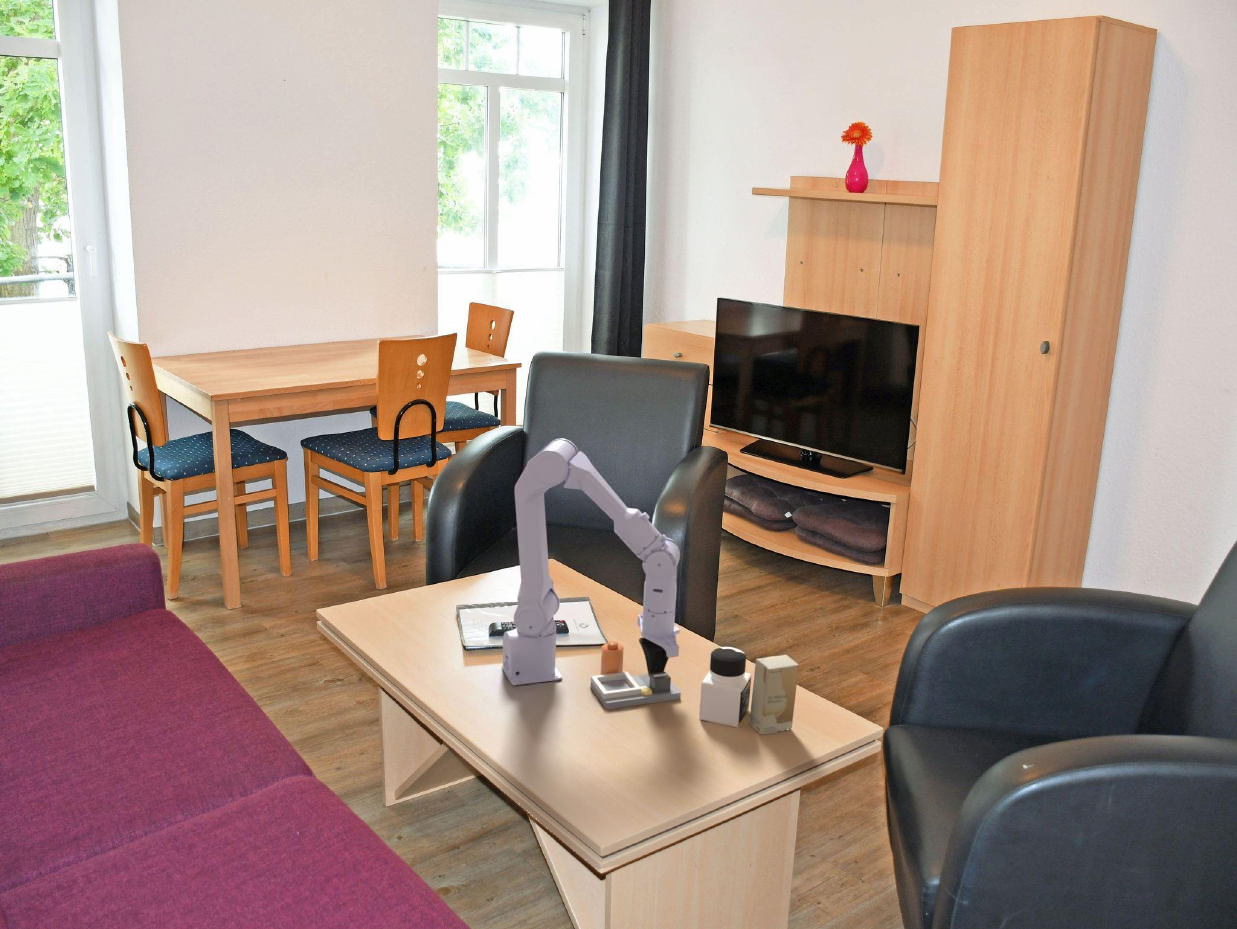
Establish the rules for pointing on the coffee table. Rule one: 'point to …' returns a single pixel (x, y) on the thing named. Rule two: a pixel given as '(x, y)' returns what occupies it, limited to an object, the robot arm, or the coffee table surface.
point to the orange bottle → (612, 658)
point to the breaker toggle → (660, 681)
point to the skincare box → (773, 694)
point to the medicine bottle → (725, 688)
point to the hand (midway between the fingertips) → (655, 677)
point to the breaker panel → (628, 690)
